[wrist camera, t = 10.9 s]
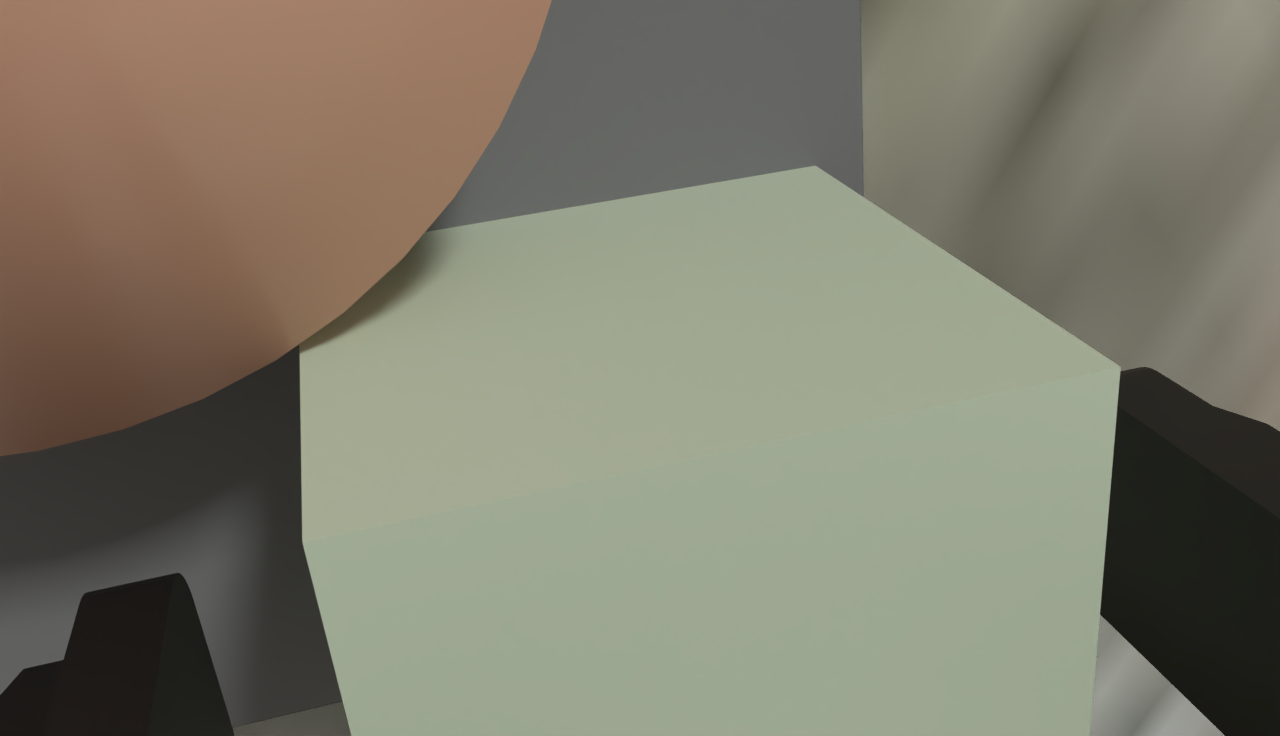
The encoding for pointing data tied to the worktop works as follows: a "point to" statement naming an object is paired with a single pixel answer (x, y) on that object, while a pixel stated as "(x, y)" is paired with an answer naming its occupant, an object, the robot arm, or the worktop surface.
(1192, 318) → the worktop surface
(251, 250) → the peach domed disc
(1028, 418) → the cube
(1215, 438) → the robot arm
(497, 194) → the mat
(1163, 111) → the worktop surface
